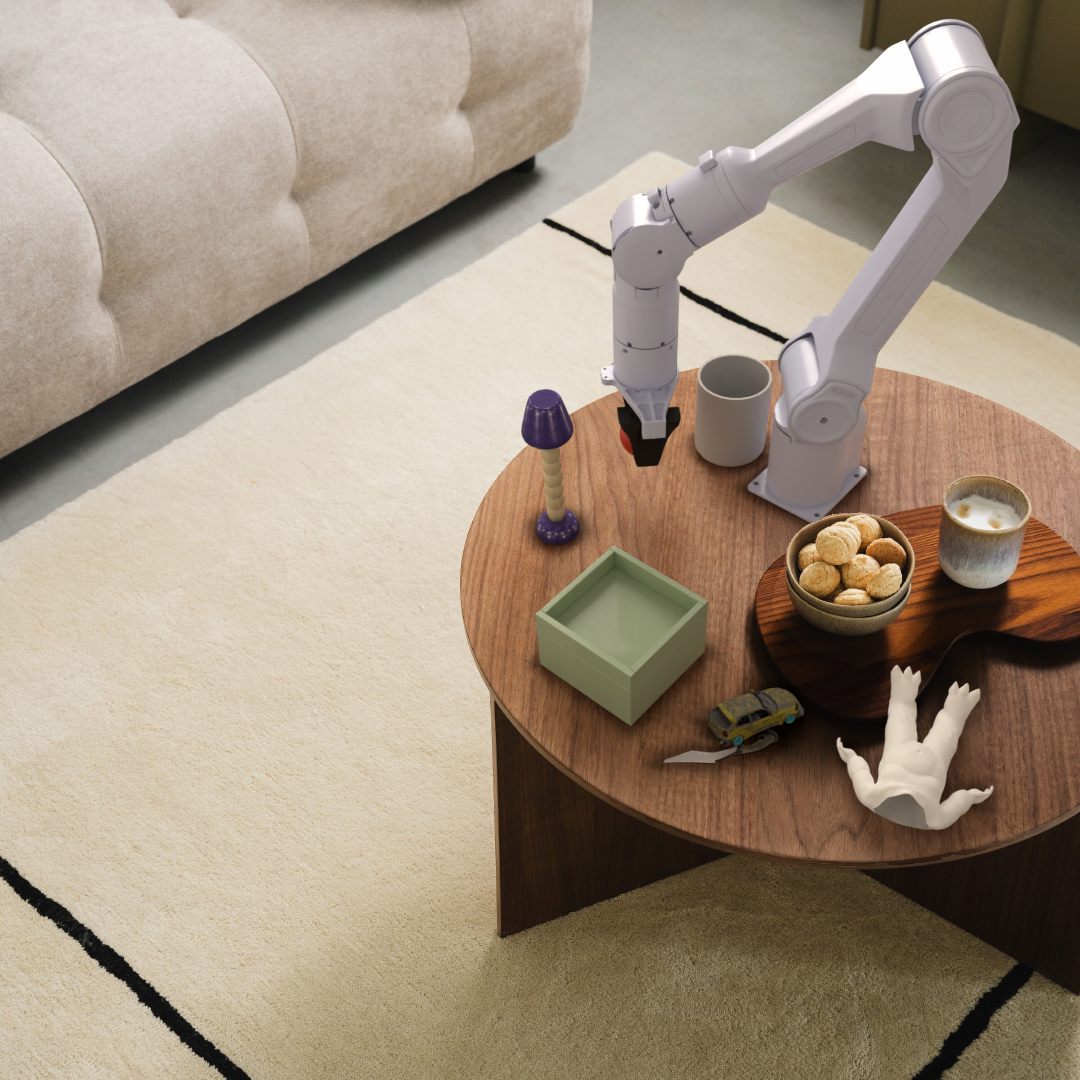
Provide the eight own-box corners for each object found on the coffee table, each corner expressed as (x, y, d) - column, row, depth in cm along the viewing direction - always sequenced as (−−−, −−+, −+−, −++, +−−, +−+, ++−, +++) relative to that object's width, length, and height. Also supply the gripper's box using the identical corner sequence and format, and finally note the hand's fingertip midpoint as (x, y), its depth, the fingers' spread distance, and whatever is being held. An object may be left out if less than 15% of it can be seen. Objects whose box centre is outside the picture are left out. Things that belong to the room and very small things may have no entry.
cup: (699, 471, 116) (703, 402, 109) (685, 408, 123) (688, 339, 116) (770, 466, 116) (778, 397, 109) (753, 403, 123) (760, 334, 116)
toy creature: (1017, 695, 90) (1002, 800, 80) (996, 750, 93) (979, 857, 84) (863, 650, 93) (832, 746, 84) (849, 705, 97) (817, 803, 88)
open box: (614, 595, 105) (613, 544, 100) (704, 651, 100) (708, 600, 95) (539, 664, 100) (534, 613, 95) (630, 726, 95) (630, 677, 90)
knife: (773, 727, 94) (773, 725, 94) (782, 744, 93) (782, 742, 93) (658, 761, 93) (658, 759, 93) (666, 778, 92) (666, 776, 91)
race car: (809, 716, 94) (810, 694, 92) (723, 752, 92) (723, 730, 91) (785, 689, 97) (785, 667, 95) (701, 722, 95) (700, 701, 93)
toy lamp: (571, 552, 109) (564, 418, 97) (524, 544, 110) (511, 410, 98) (584, 517, 112) (578, 383, 100) (538, 510, 113) (527, 376, 101)
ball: (639, 429, 113) (640, 393, 110) (677, 449, 111) (678, 412, 108) (610, 454, 111) (609, 417, 108) (647, 474, 109) (647, 438, 105)
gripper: (593, 286, 106) (596, 401, 115) (607, 385, 96) (609, 501, 105) (669, 280, 106) (666, 396, 115) (692, 378, 96) (686, 496, 105)
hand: (644, 446), depth 110 cm, fingers closed on ball, 4 cm apart
